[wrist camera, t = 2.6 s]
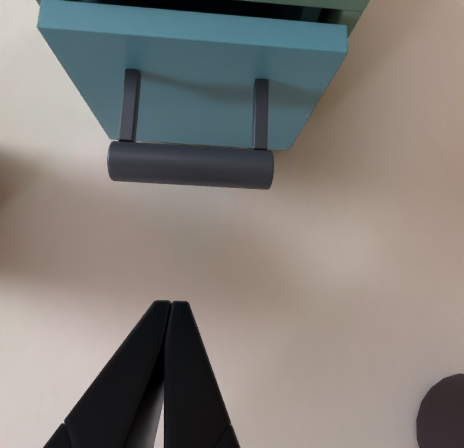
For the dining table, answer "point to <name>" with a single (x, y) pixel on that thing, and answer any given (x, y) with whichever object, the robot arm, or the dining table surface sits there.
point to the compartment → (195, 82)
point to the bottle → (442, 415)
